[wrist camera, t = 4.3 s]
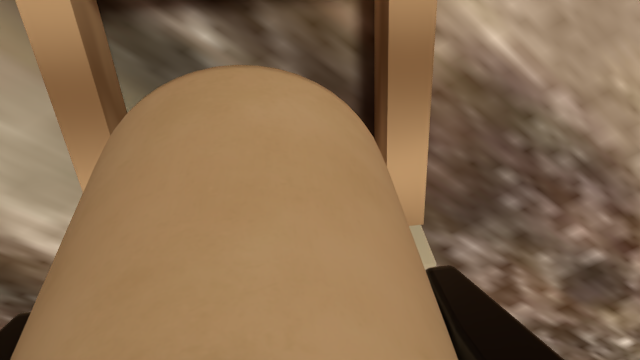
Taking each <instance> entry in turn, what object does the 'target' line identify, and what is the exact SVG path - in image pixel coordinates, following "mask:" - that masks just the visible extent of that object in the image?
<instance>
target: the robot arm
mask: <svg viewBox="0 0 640 360" xmlns="http://www.w3.org/2000/svg"><path fill="white" fill-rule="evenodd" d="M425 271H426V274H427V276H428V279H429V282H430V284H431V287H432V290H433V293H434V295H435V298H436V301H437V303H438V306H439V309H440V312H441V314H442V317H443V320H444V322H445V325H446V328H447V331H448V333H449V336H450V339H451V341H452V344H453V347H454V350H455V352H456V355H457V358H458V360H564V359H563V358H562V357H560V356H559V355H558V354H557V353H556V352H555V351H553V350H552V349H551V348H550V347H549V346H547V345H546V344H545V343H544V342H543V341H541V340H540V339H539V338H538V337H537V336H536V335H534V334H533V333H532V332H531V331H530V330H528V329H527V328H526V327H525V326H524V325H522V324H521V323H520V322H519V321H518V320H517V319H515V318H514V317H513V316H512V315H511V314H509V313H508V312H507V311H506V310H505V309H503V308H502V307H501V306H500V305H499V304H498V303H496V302H495V301H494V300H493V299H492V298H490V297H489V296H488V295H487V294H486V293H484V292H483V291H482V290H481V289H480V288H479V287H477V286H476V285H475V284H474V283H473V282H471V281H470V280H469V279H468V278H467V277H465V276H464V275H463V274H462V273H461V272H459V271H458V270H457V269H456V268H455V267H452V266H439V267H430V268H428V269H426V270H425ZM30 313H31V312H23V313H20V314H18V315H17V316H15V317H14V318H13V319H12V320H11V321H10V322H9V323H8V324H7V325H5V326H4V327H3V328H2V329H1V330H0V360H10V359H11V357H12V354H13V352H14V350H15V348H16V345H17V343H18V341H19V338H20V336H21V334H22V332H23V329H24V327H25V325H26V322H27V320H28V318H29V316H30Z"/></svg>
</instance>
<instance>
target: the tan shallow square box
mask: <svg viewBox="0 0 640 360" xmlns="http://www.w3.org/2000/svg"><path fill="white" fill-rule="evenodd" d="M16 3H17V6H18V9H19V12H20V15H21V17H22V20H23V23H24V26H25V29H26V32H27V35H28V37H29V40H30V43H31V46H32V49H33V52H34V54H35V57H36V60H37V63H38V66H39V69H40V72H41V74H42V77H43V80H44V83H45V86H46V89H47V91H48V94H49V97H50V100H51V103H52V106H53V108H54V111H55V114H56V117H57V120H58V123H59V126H60V128H61V131H62V134H63V137H64V140H65V143H66V145H67V148H68V151H69V154H70V157H71V160H72V163H73V165H74V168H75V171H76V174H77V177H78V180H79V182H80V185H81V188H82V191H83V192H84V190H85V187H86V185H87V183H88V181H89V178H90V176H91V174H92V171H93V169H94V167H95V165H96V163H97V161H98V159H99V157H100V155H101V153H102V151H103V149H104V147H105V145H106V143H107V141H108V139H109V138H110V136H111V134H112V132H113V131H114V129H115V128H116V127H117V125H118V124H119V123H120V122H121V120H122V119H123V118H124V117H125V115H126V114H127V111H126V107H125V104H124V100H123V96H122V93H121V89H120V85H119V82H118V78H117V74H116V71H115V67H114V63H113V60H112V56H111V52H110V49H109V45H108V41H107V38H106V34H105V30H104V27H103V23H102V19H101V16H100V12H99V8H98V5H97V1H96V0H16ZM436 9H437V0H374V78H375V141H376V144H377V146H378V148H379V150H380V152H381V154H382V157H383V159H384V161H385V164H386V166H387V169H388V171H389V173H390V176H391V179H392V181H393V184H394V187H395V190H396V192H397V195H398V198H399V200H400V203H401V206H402V209H403V211H404V214H405V217H406V219H407V222H408V225H409V226H414V225H423V223H424V207H425V190H426V174H427V157H428V141H429V124H430V108H431V91H432V75H433V58H434V42H435V25H436Z"/></svg>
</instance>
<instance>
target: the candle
mask: <svg viewBox="0 0 640 360" xmlns="http://www.w3.org/2000/svg"><path fill="white" fill-rule="evenodd" d="M10 360H458V358H457V355H456V352H455V350H454V347H453V344H452V341H451V339H450V336H449V333H448V331H447V328H446V325H445V322H444V320H443V317H442V314H441V312H440V309H439V306H438V303H437V301H436V298H435V295H434V293H433V290H432V287H431V284H430V282H429V279H428V276H427V274H426V271H425V268H424V266H423V263H422V260H421V257H420V255H419V252H418V249H417V247H416V244H415V241H414V238H413V236H412V233H411V230H410V228H409V225H408V222H407V219H406V217H405V214H404V211H403V209H402V206H401V203H400V200H399V198H398V195H397V192H396V190H395V187H394V184H393V181H392V179H391V176H390V173H389V171H388V169H387V166H386V164H385V161H384V159H383V157H382V154H381V152H380V150H379V148H378V146H377V144H376V141H375V139H374V137H373V136H372V134H371V133H370V132H369V130H368V129H367V127H366V126H365V124H364V123H363V122H362V120H361V119H360V118H359V117H358V115H357V114H356V113H355V112H354V111H353V110H352V109H351V108H350V107H349V106H348V105H347V104H346V103H345V102H344V101H342V100H341V99H340V98H339V97H337V96H336V95H335V94H334V93H332V92H331V91H329V90H328V89H326V88H324V87H323V86H321V85H319V84H318V83H316V82H314V81H311V80H309V79H307V78H304V77H302V76H300V75H297V74H294V73H291V72H287V71H284V70H280V69H276V68H269V67H263V66H253V65H230V66H219V67H213V68H208V69H203V70H199V71H195V72H192V73H189V74H186V75H183V76H181V77H178V78H176V79H174V80H172V81H170V82H168V83H166V84H164V85H162V86H160V87H158V88H157V89H155V90H154V91H153V92H151V93H150V94H148V95H147V96H145V97H144V98H143V99H142V100H141V101H140V102H139V103H137V104H136V105H135V106H134V107H133V108H132V109H131V110H130V111H129V112H128V113H127V114H126V115H125V117H124V118H123V119H122V120H121V122H120V123H119V124H118V125H117V127H116V128H115V129H114V131H113V132H112V134H111V136H110V138H109V139H108V141H107V143H106V145H105V147H104V149H103V151H102V153H101V155H100V157H99V159H98V161H97V163H96V165H95V167H94V169H93V171H92V174H91V176H90V178H89V181H88V183H87V185H86V187H85V190H84V192H83V194H82V197H81V199H80V201H79V203H78V206H77V208H76V210H75V213H74V215H73V217H72V220H71V222H70V224H69V226H68V229H67V231H66V233H65V236H64V238H63V240H62V242H61V245H60V247H59V249H58V252H57V254H56V256H55V258H54V261H53V263H52V265H51V268H50V270H49V272H48V274H47V277H46V279H45V281H44V284H43V286H42V288H41V290H40V293H39V295H38V297H37V300H36V302H35V304H34V306H33V309H32V311H31V313H30V316H29V318H28V320H27V322H26V325H25V327H24V329H23V332H22V334H21V336H20V338H19V341H18V343H17V345H16V348H15V350H14V352H13V354H12V357H11V359H10Z"/></svg>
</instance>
